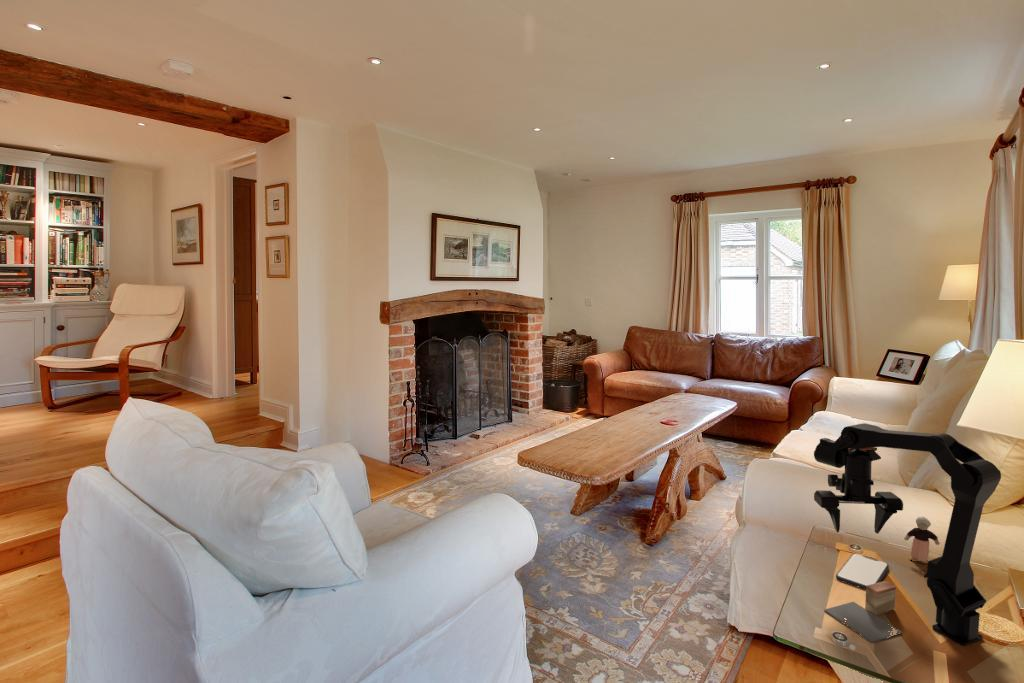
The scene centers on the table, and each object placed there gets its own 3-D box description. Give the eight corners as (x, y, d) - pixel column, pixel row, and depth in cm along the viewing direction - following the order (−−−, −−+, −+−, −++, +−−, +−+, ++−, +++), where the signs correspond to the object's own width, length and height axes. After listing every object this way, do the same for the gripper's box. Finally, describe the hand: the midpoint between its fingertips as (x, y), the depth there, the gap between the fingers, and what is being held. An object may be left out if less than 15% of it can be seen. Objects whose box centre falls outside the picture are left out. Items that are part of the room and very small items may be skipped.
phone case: (873, 595, 134) (890, 569, 145) (873, 589, 134) (890, 563, 145) (834, 581, 141) (852, 557, 151) (834, 575, 140) (853, 551, 151)
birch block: (894, 610, 127) (895, 586, 126) (875, 615, 125) (876, 591, 124) (883, 604, 129) (885, 580, 129) (865, 609, 128) (866, 585, 127)
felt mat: (902, 633, 119) (902, 632, 119) (871, 643, 116) (871, 641, 116) (853, 603, 130) (853, 601, 130) (824, 611, 127) (824, 609, 127)
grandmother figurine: (907, 562, 147) (910, 518, 145) (902, 555, 151) (904, 512, 149) (940, 566, 145) (943, 521, 143) (934, 559, 148) (937, 515, 147)
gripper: (882, 463, 143) (881, 520, 144) (806, 462, 146) (806, 517, 147) (905, 478, 132) (903, 539, 133) (822, 476, 135) (822, 536, 136)
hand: (856, 532), depth 138 cm, fingers open, 9 cm apart
